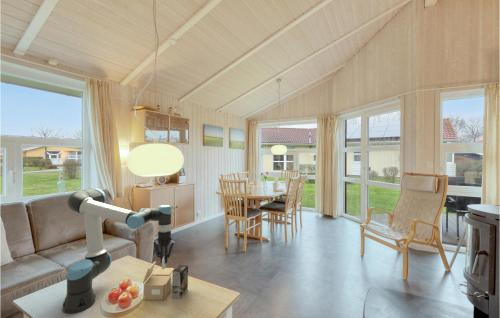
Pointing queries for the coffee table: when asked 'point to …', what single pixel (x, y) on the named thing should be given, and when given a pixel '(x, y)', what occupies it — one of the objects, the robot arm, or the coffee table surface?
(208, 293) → the coffee table surface
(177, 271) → the coffee box
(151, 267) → the panel
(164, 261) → the robot arm
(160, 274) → the carton
